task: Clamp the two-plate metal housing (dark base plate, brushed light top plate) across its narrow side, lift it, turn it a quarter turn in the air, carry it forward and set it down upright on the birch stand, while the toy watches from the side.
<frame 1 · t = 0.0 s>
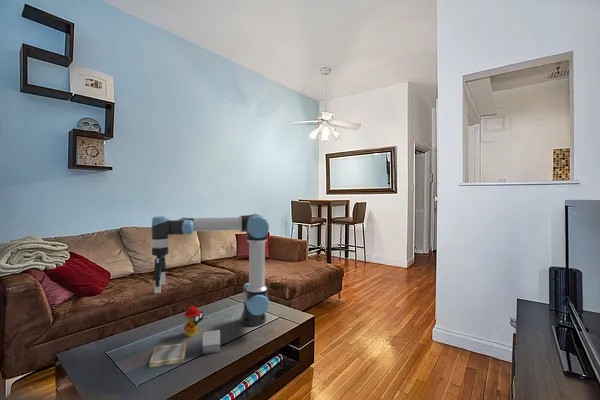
hand: (160, 288, 146), 28 cm above the table, fingers open, 13 cm apart
toy: (192, 334, 156), on the table
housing: (211, 349, 141), on the table
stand: (169, 356, 135), on the table
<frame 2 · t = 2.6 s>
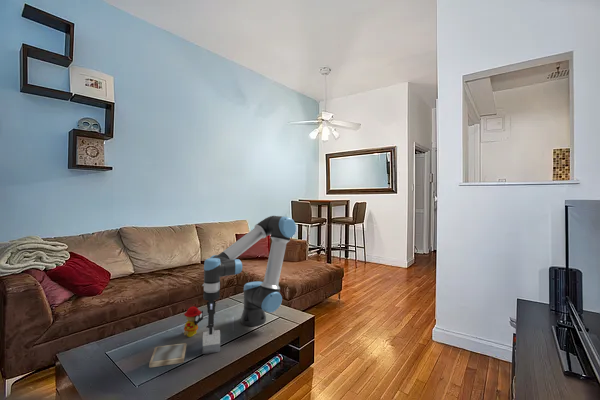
hand: (210, 333, 141), 8 cm above the table, fingers open, 13 cm apart
nothing on the table moved.
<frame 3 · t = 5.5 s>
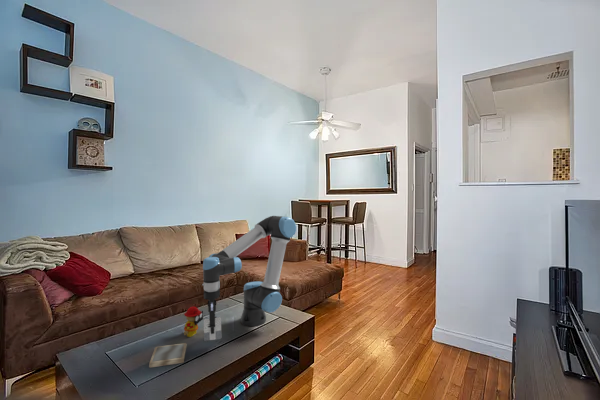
hand: (212, 335, 141), 7 cm above the table, fingers closed on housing, 6 cm apart
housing: (212, 336, 141), point 6 cm above the table, touching gripper
everything else where it was.
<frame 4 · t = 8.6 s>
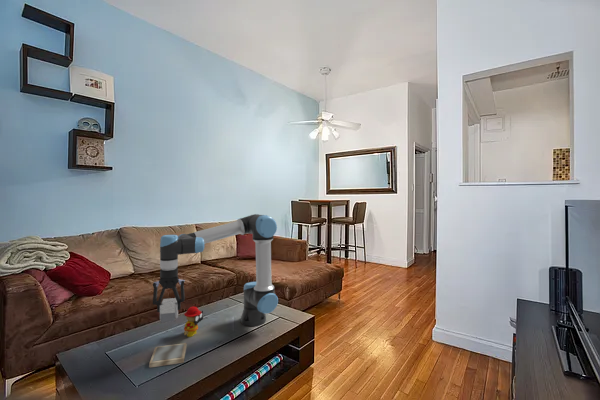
hand: (169, 317, 134), 18 cm above the table, fingers closed on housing, 6 cm apart
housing: (169, 318, 134), point 18 cm above the table, touching gripper
everything else where it was.
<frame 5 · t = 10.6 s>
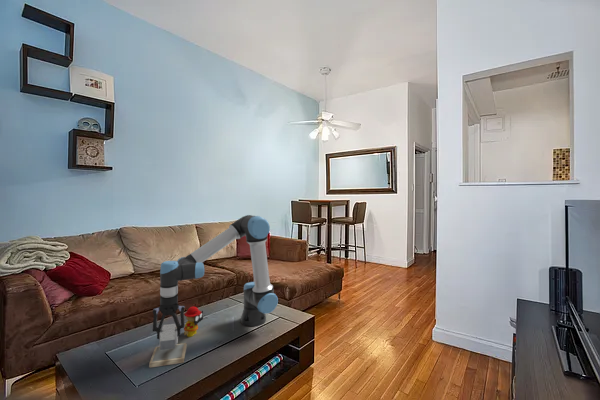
hand: (168, 343, 135), 6 cm above the table, fingers closed on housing, 6 cm apart
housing: (168, 344, 134), point 6 cm above the table, touching gripper
everything else where it was.
when the fingers open (3 cm above the table, at t = 12.1 s): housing stays where it is, resting on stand.
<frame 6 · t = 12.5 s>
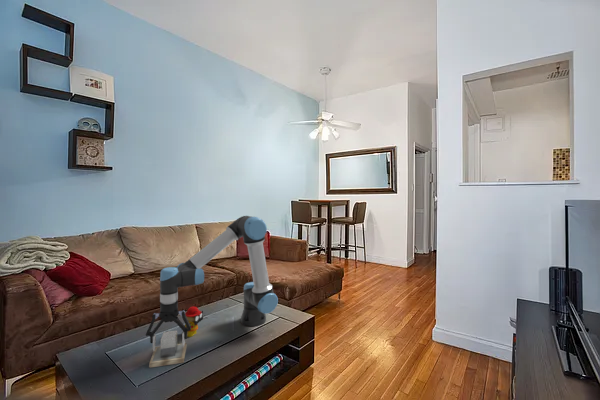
hand: (169, 347, 135), 4 cm above the table, fingers open, 12 cm apart
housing: (169, 352, 135), point 2 cm above the table, touching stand
everything else where it was.
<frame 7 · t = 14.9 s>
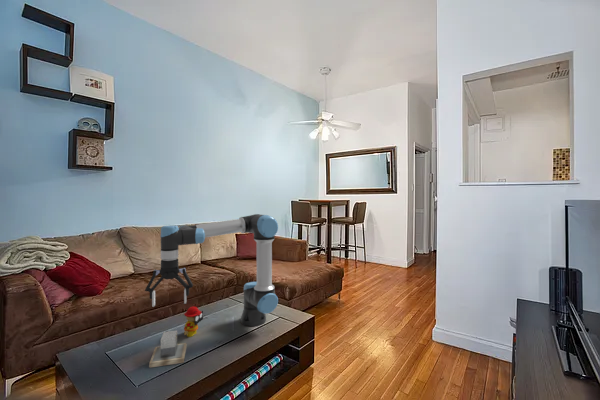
hand: (169, 304, 134), 25 cm above the table, fingers open, 13 cm apart
nothing on the table moved.
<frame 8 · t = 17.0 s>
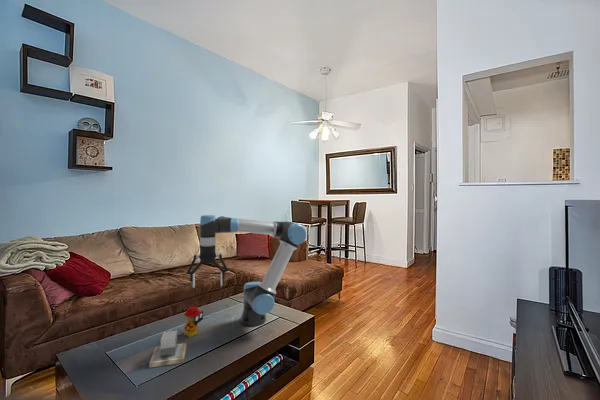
hand: (207, 286, 149), 29 cm above the table, fingers open, 13 cm apart
nothing on the table moved.
at the end: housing 0.1 cm from the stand (horizontally); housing touching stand; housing tilted 0° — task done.
